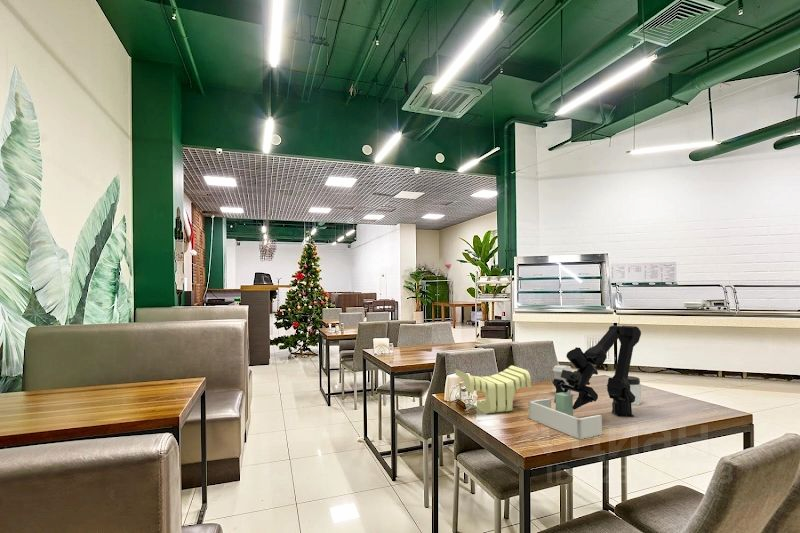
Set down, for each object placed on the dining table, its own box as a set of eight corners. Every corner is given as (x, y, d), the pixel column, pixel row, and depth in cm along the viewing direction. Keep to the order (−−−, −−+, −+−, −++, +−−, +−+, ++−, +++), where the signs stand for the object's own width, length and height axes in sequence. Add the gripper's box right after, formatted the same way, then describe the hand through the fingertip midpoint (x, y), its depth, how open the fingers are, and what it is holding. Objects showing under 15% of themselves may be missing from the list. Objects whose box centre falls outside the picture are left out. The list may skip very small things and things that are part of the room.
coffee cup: (564, 399, 190) (562, 368, 192) (549, 394, 199) (548, 365, 200) (577, 397, 194) (576, 367, 195) (563, 392, 203) (561, 364, 204)
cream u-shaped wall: (549, 414, 166) (549, 398, 167) (602, 434, 142) (601, 415, 143) (529, 418, 162) (528, 401, 162) (580, 439, 138) (579, 419, 138)
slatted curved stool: (470, 417, 164) (470, 375, 165) (456, 406, 179) (455, 368, 180) (531, 411, 171) (530, 371, 173) (512, 401, 187) (511, 365, 188)
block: (564, 423, 155) (563, 392, 156) (573, 426, 151) (572, 394, 152) (556, 424, 153) (555, 393, 154) (565, 428, 149) (563, 396, 150)
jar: (645, 404, 180) (644, 379, 181) (631, 406, 178) (630, 380, 179) (630, 399, 189) (629, 375, 190) (616, 400, 187) (615, 376, 188)
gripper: (554, 359, 165) (535, 387, 159) (591, 366, 148) (571, 398, 142) (568, 376, 167) (550, 404, 162) (606, 385, 150) (587, 417, 145)
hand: (563, 405), depth 153 cm, fingers open, 9 cm apart
